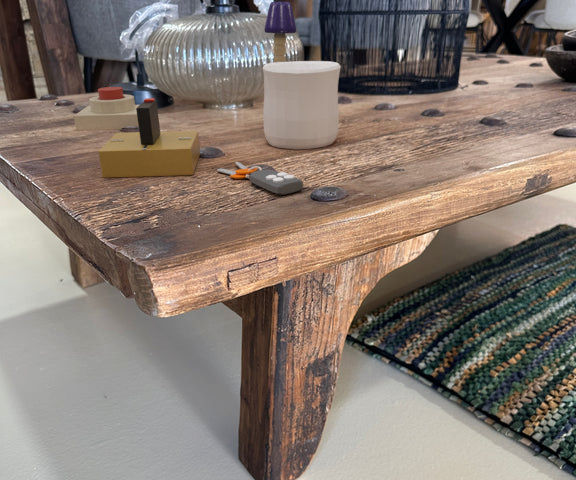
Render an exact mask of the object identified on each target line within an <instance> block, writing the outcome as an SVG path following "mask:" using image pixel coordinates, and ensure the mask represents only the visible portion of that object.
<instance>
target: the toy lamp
mask: <svg viewBox="0 0 576 480" xmlns="http://www.w3.org/2000/svg"><path fill="white" fill-rule="evenodd" d="M296 32H297V27H296V20H295V16H294V11H293V6H292V3H291V2H289V1H270V3H269V6H268V11H267V15H266V20H265V24H264V33H266V34H274V35H273V42H274V46H273V53H274V58H273V63H275V62H287V58H286V53H287V47H286V42H287V36H286V34H296Z"/></svg>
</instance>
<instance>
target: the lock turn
mask: <svg viewBox="0 0 576 480" xmlns="http://www.w3.org/2000/svg"><path fill="white" fill-rule="evenodd" d="M157 101H158V100H156V99H155V97H149V98H147V97H145V98H144V99H143V102H141V103H140V104H138V105H139V106H138V107H137V108H136V111H137V118H138V126H139V129H138V132H139V133H140V140H141V145H153V144H154V143H155V141H156V140H157V139H158V137H159V136H160V132H161V127H160V118H159V110H158V109H159V108H158V102H157Z"/></svg>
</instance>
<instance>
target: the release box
mask: <svg viewBox="0 0 576 480" xmlns="http://www.w3.org/2000/svg"><path fill="white" fill-rule="evenodd" d="M123 96H124V98H122V99H116V100H100V99H99V95H97V96H92V97H90V98H89V99H88V104H89V105H87V106H86V107H84V108H83V109H82V110H80V111H79V112H77V113H75V114H74V115H73V120H74V127H75V131H106V130H107V131H110V130H123V129H122V128H124V127H127V126H137V127H139V126H138V118H137V111H136V108H137V107H138V106H139V105H140V104H136V101H135V96H134V95H131V94H125V93H123Z"/></svg>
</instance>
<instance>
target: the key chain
mask: <svg viewBox="0 0 576 480" xmlns="http://www.w3.org/2000/svg"><path fill="white" fill-rule="evenodd" d="M234 164H235V165H236V166H237V167H238V169H235V170H233V169H226V168H222V167H220V168H217V169H216V172H219V173H222V174H226V175H229V177H230V178H232V179H236V180H237V179H248V180H249V181H250V182H251V183H252V184H254V185H256V186H258V187H260V188H262V189H264V190H267V191H269V192H272V193H274V194H276V195H280V196H281V195H282V196H284V195H288V194H292V193H295V192H299V191H301V190H302V188H304V181H303V180H302V179H300V178H298V177H296V176H295V175H293V174H288V173H287V172H286V171H285V172H284V171H282V172H280V171H276V170H273V169H269V168H266V169H265V168H264V169H263V168H262V167H261V166H259V165H255V166H251V167H247V166H245V165H244V164H243V163H242V162H240V161H235V162H234Z"/></svg>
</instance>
